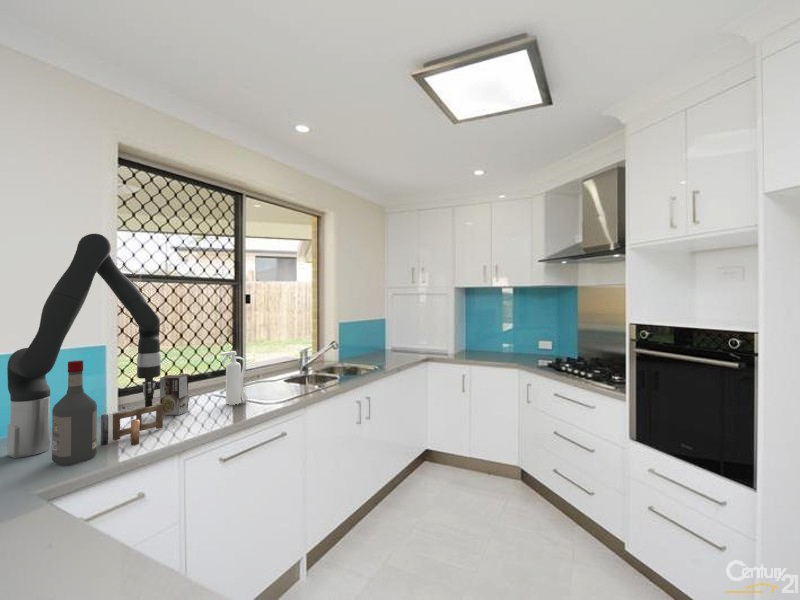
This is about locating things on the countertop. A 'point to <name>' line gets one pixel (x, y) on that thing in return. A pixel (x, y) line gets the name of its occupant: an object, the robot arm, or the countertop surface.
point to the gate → (138, 414)
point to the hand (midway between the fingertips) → (148, 409)
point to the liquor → (74, 422)
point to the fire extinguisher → (234, 379)
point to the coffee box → (174, 394)
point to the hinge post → (104, 429)
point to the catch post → (135, 432)
